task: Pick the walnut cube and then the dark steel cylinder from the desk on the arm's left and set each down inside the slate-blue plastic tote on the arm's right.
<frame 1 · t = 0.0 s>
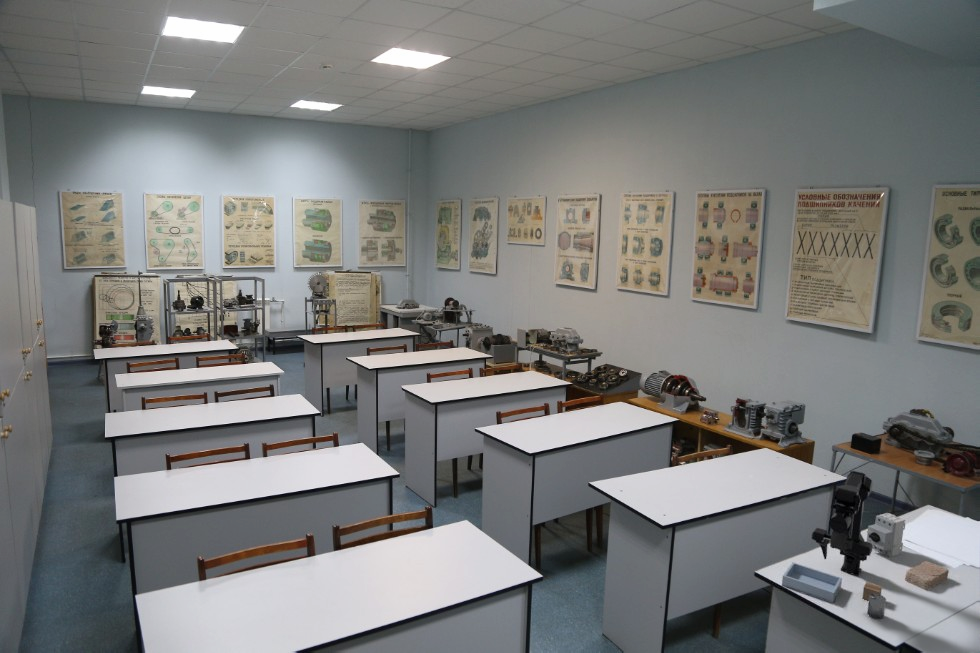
hand: (839, 563, 232), 15 cm above the table, fingers open, 9 cm apart
circuit breaker: (882, 552, 271), on the table
walnut cube: (871, 599, 235), on the table
brick: (926, 581, 250), on the table
tote: (811, 586, 243), on the table
steel cylinder: (875, 615, 225), on the table
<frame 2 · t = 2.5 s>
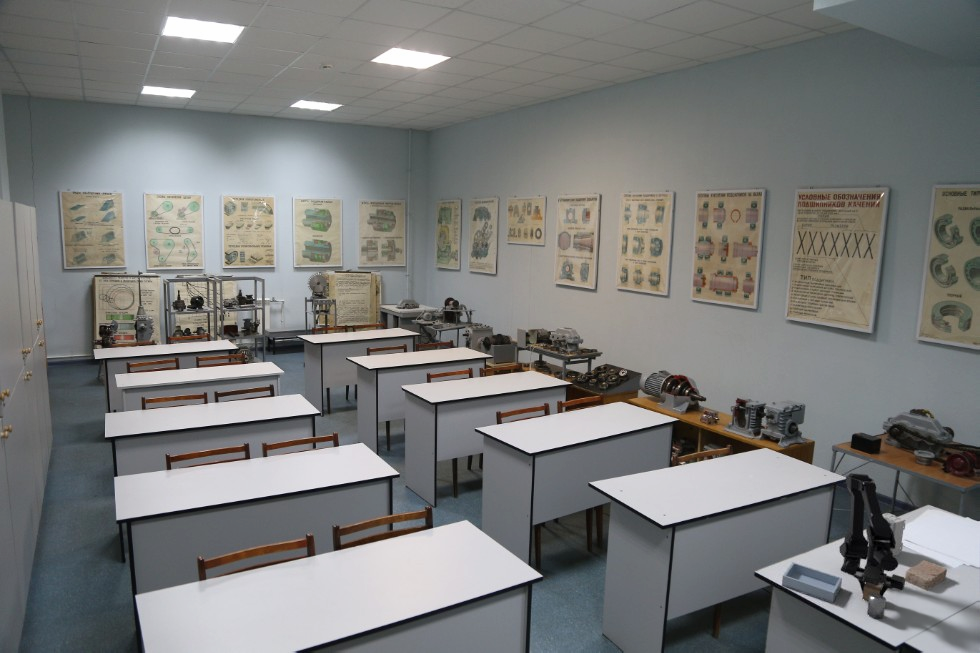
hand: (871, 596, 235), 1 cm above the table, fingers closed on walnut cube, 5 cm apart
walnut cube: (871, 599, 235), on the table, touching gripper
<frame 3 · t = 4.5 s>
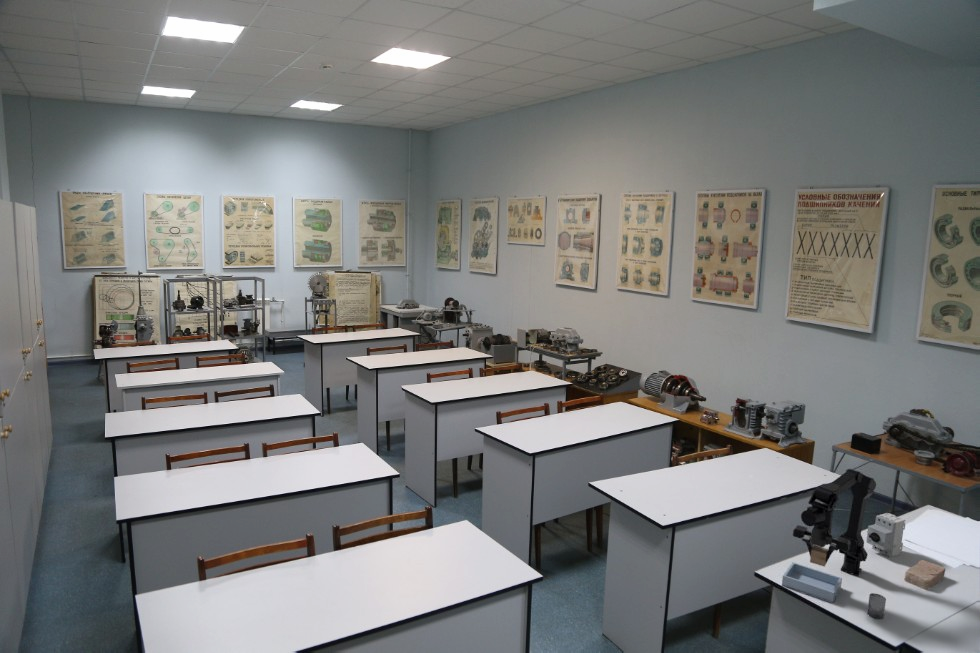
hand: (818, 559, 241), 11 cm above the table, fingers closed on walnut cube, 5 cm apart
walnut cube: (818, 561, 241), point 10 cm above the table, touching gripper
everything else where it was.
when the fingers open (4 cm above the table, at t = 6.5 s): walnut cube drops 3 cm, resting on tote.
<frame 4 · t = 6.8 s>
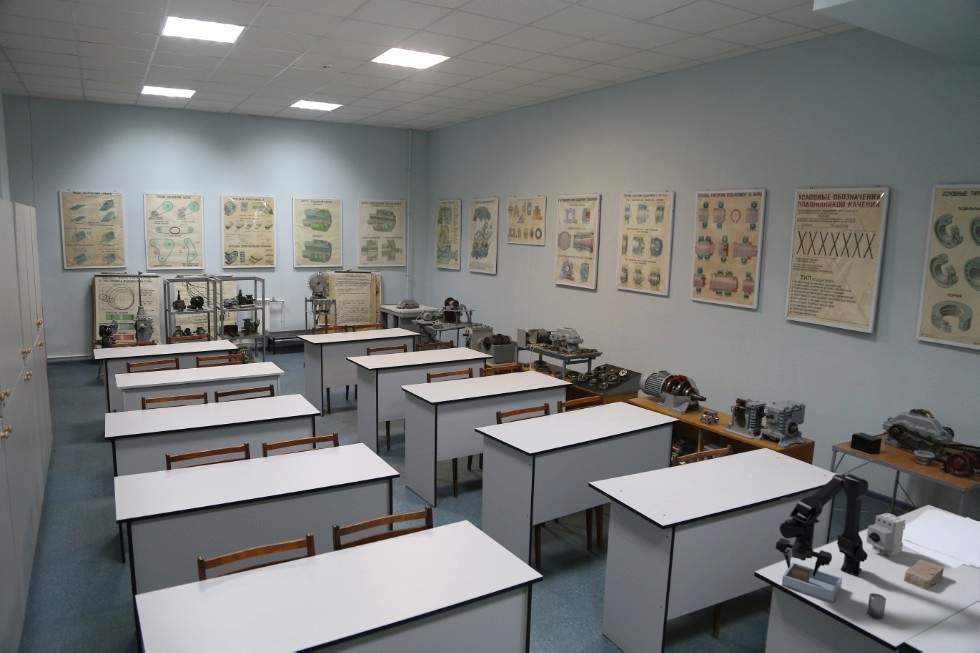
hand: (801, 571, 245), 4 cm above the table, fingers open, 9 cm apart
walnut cube: (800, 581, 245), point 1 cm above the table, touching tote
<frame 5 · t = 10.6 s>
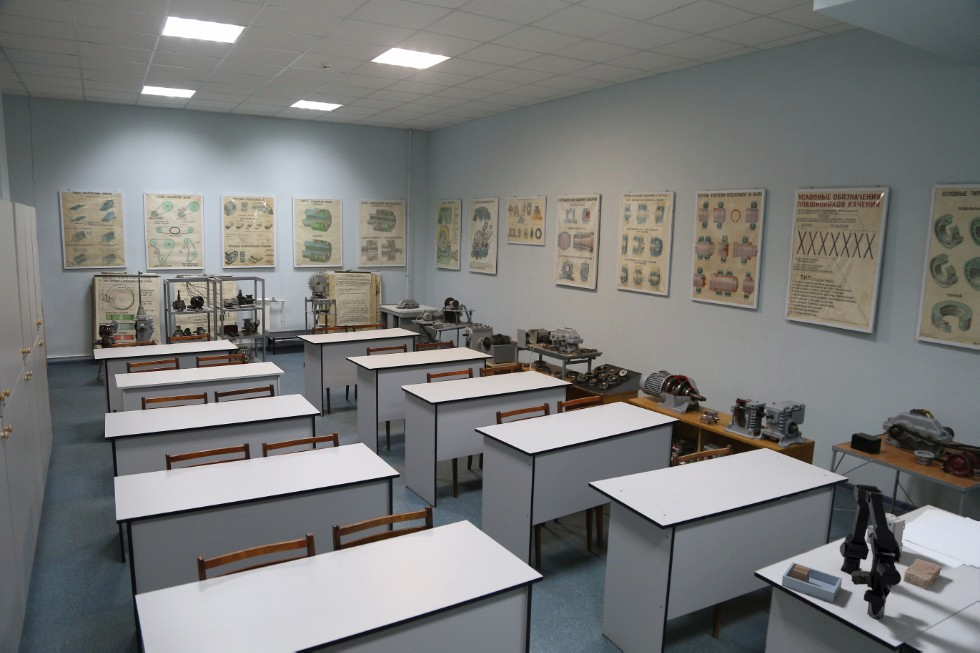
hand: (875, 611, 225), 2 cm above the table, fingers closed on steel cylinder, 5 cm apart
steel cylinder: (875, 615, 225), on the table, touching gripper
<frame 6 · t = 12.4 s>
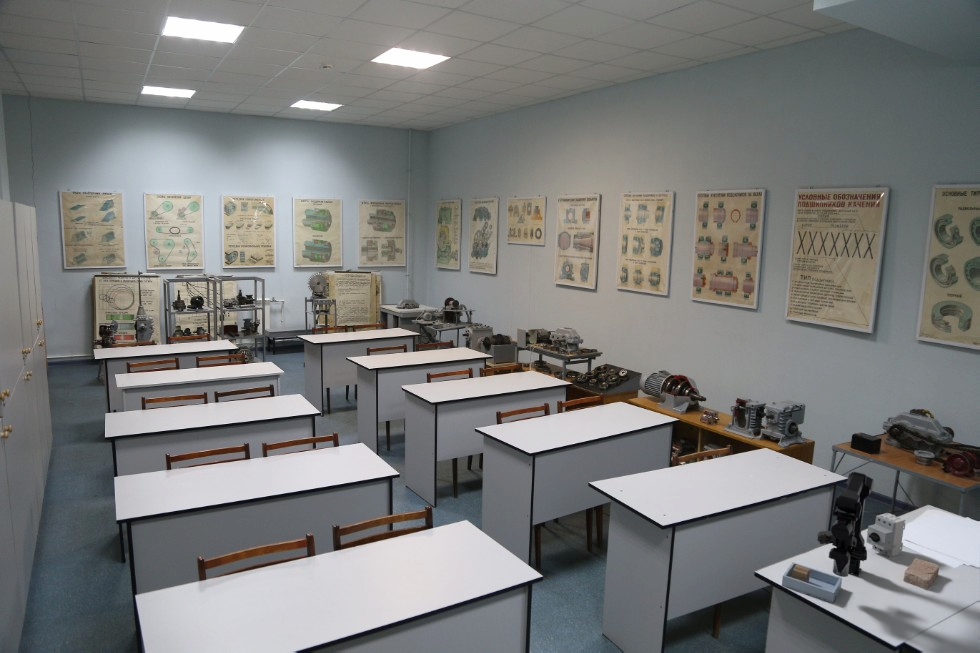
hand: (840, 569, 234), 11 cm above the table, fingers closed on steel cylinder, 5 cm apart
steel cylinder: (840, 573, 235), point 10 cm above the table, touching gripper
when the fingers open (4 cm above the table, at t = 14.4 s): steel cylinder drops 2 cm, resting on tote.
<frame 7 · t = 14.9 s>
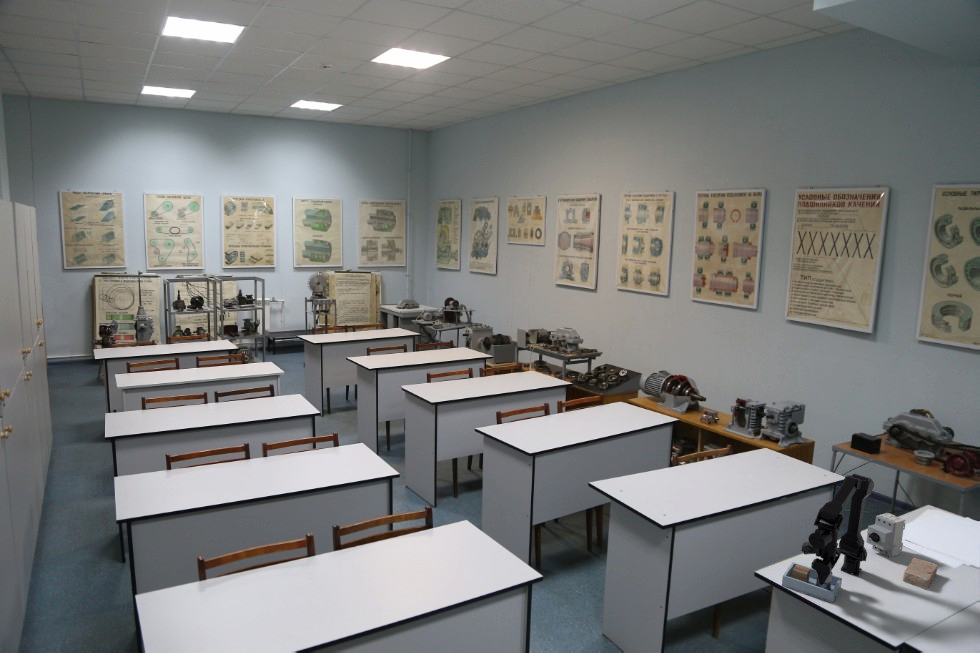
hand: (824, 579, 240), 4 cm above the table, fingers open, 9 cm apart
steel cylinder: (823, 589, 240), point 1 cm above the table, touching tote
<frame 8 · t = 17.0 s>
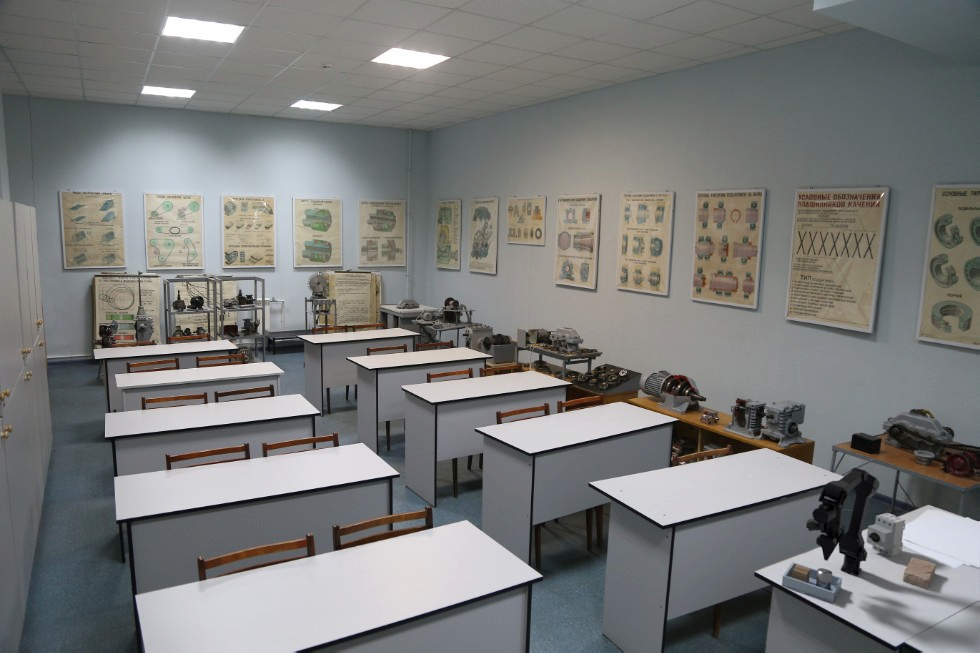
hand: (828, 555, 241), 12 cm above the table, fingers open, 9 cm apart
at the end: walnut cube inside the target area on the tote (4.0 cm from its centre), point 0.6 cm above the tote's base; steel cylinder inside the target area on the tote (4.0 cm from its centre), point 0.6 cm above the tote's base; the gripper is holding nothing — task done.
